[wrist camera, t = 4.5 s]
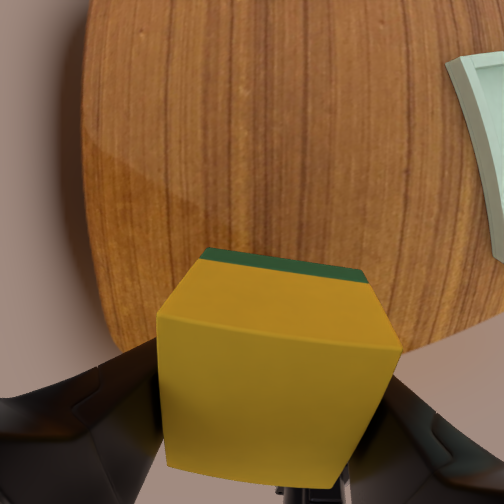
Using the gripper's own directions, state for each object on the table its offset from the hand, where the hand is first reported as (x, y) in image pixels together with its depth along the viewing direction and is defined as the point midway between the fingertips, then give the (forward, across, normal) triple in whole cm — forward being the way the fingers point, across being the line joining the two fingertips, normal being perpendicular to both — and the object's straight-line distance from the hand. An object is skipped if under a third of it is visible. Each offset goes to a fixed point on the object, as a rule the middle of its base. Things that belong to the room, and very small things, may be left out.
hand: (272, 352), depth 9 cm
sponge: (+1, 0, 0) cm, 1 cm away
